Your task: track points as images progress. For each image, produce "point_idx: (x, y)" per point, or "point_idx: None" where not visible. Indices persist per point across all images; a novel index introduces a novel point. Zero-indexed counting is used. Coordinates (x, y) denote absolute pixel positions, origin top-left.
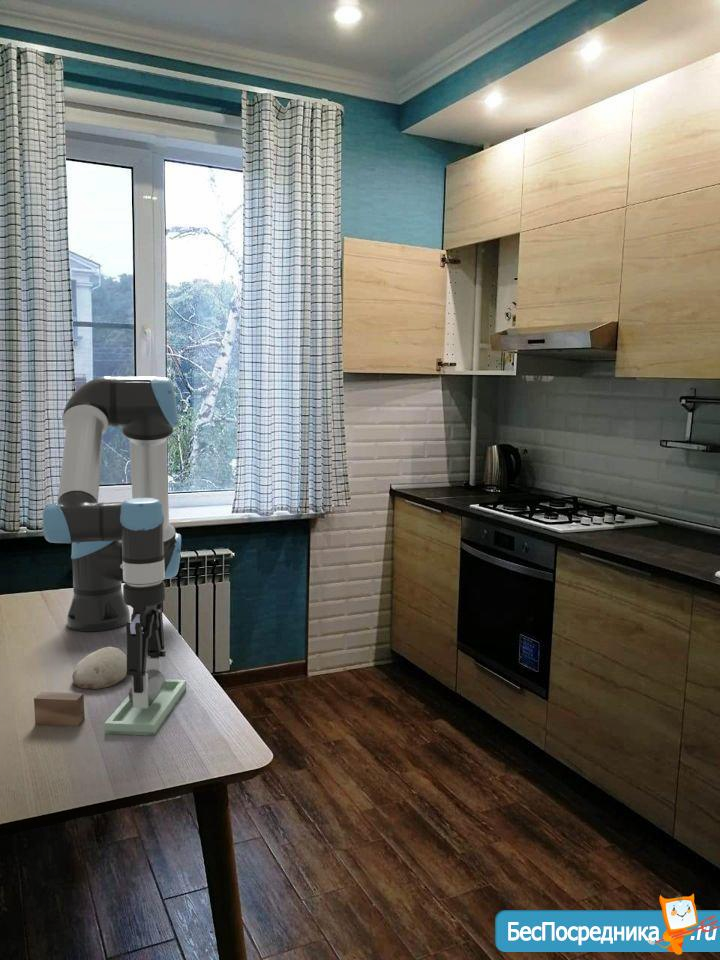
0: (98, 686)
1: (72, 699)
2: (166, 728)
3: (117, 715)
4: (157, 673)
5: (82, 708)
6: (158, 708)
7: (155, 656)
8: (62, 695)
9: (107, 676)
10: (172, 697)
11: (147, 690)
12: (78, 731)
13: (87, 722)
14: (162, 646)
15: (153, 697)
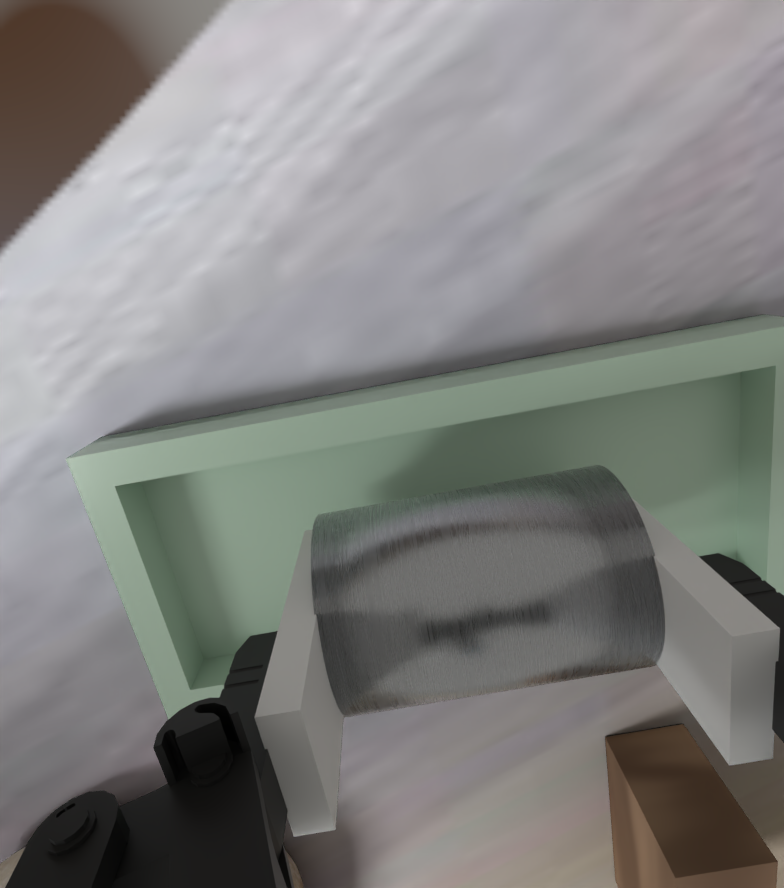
0: (288, 857)
1: (772, 883)
2: (660, 288)
3: None
4: (370, 612)
5: (656, 790)
6: (454, 453)
7: (267, 780)
8: None
9: None
10: (377, 408)
11: (654, 536)
12: None
13: (639, 707)
14: (101, 849)
15: (606, 472)
